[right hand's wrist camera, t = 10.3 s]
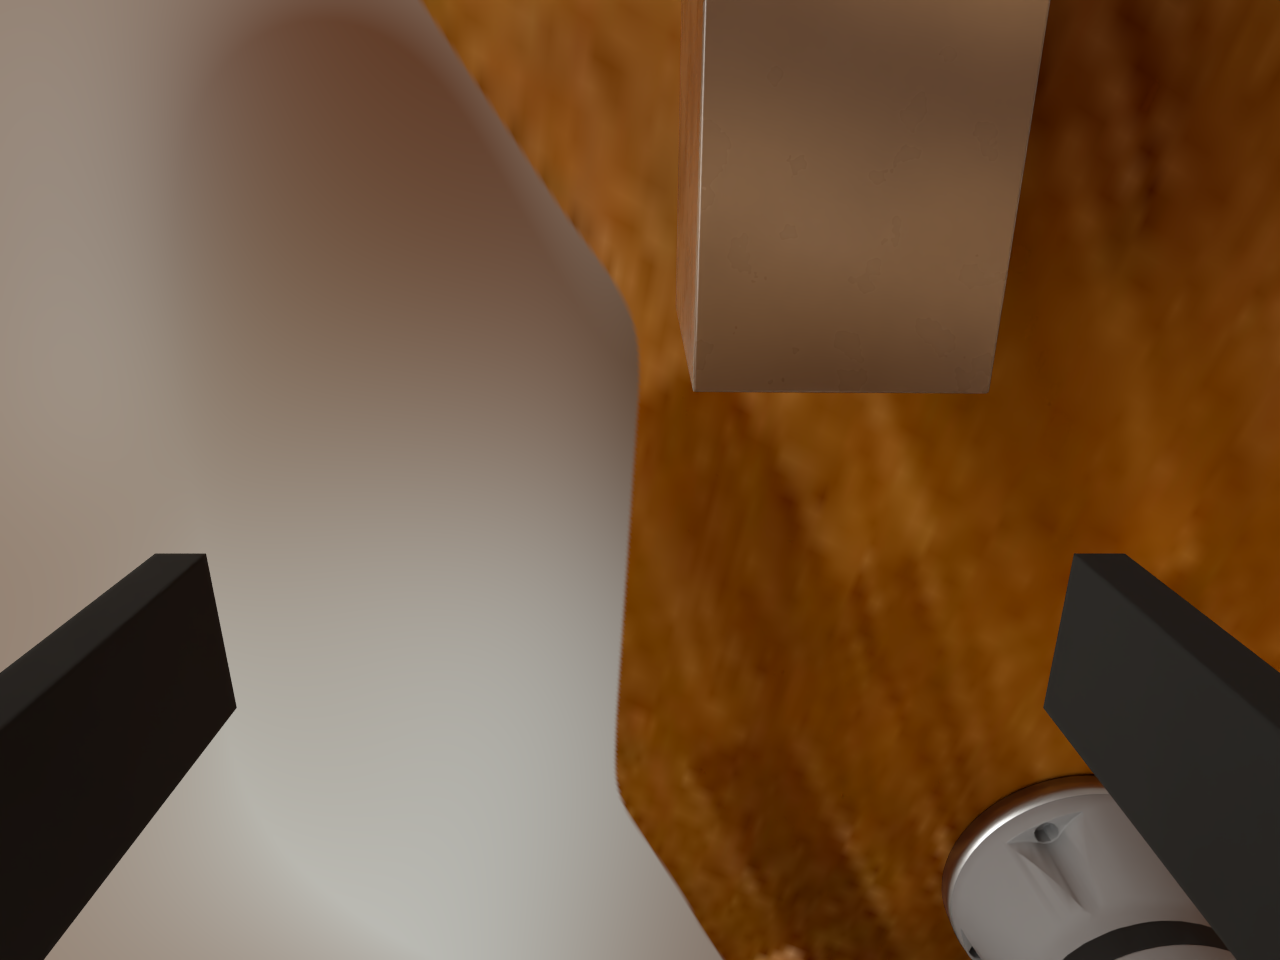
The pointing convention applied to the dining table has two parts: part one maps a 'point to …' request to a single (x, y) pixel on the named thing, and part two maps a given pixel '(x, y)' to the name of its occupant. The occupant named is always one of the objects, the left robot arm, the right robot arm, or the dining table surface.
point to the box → (850, 189)
